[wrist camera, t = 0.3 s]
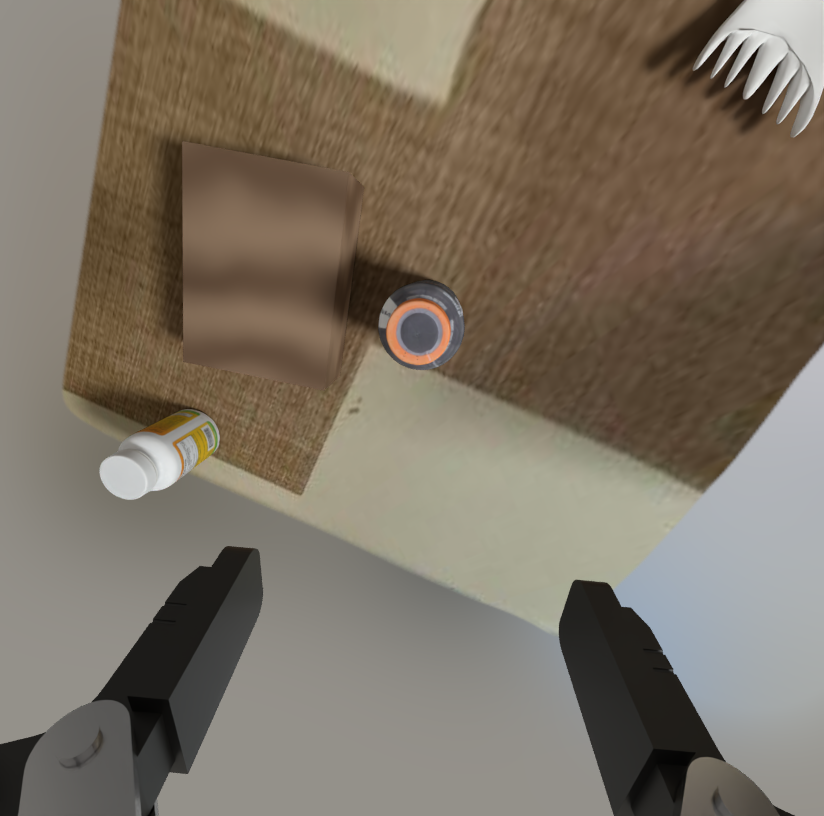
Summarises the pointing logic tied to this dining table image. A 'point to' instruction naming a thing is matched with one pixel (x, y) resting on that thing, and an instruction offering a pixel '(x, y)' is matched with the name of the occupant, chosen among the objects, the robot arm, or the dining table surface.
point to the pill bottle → (422, 325)
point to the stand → (267, 264)
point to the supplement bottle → (160, 454)
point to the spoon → (776, 52)
